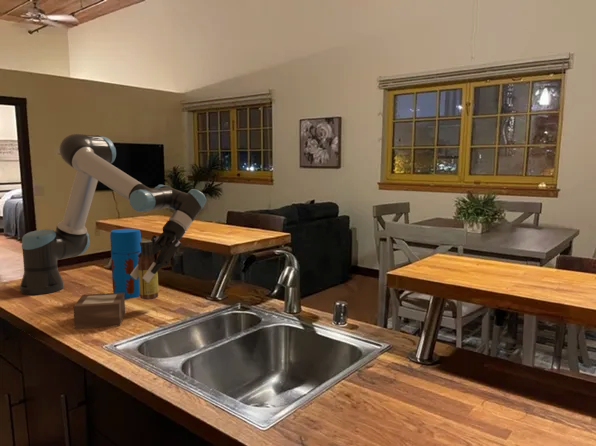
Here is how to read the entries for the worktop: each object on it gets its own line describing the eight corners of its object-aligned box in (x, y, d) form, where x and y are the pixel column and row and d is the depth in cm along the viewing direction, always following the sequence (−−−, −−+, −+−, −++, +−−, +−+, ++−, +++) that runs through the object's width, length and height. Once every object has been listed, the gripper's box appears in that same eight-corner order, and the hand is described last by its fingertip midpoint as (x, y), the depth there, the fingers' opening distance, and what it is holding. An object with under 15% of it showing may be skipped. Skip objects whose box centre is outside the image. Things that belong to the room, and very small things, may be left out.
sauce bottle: (162, 296, 160) (161, 240, 157) (151, 301, 154) (150, 243, 151) (146, 293, 161) (145, 238, 159) (135, 299, 156) (133, 241, 153)
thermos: (147, 291, 180) (145, 228, 177) (135, 299, 169) (132, 233, 166) (121, 290, 181) (118, 228, 178) (107, 298, 170) (104, 232, 167)
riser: (83, 315, 151) (82, 294, 150) (125, 312, 154) (124, 292, 153) (74, 328, 139) (73, 306, 138) (119, 325, 142) (118, 303, 141)
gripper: (200, 235, 161) (163, 289, 151) (166, 229, 173) (129, 280, 162) (188, 221, 156) (149, 277, 146) (154, 217, 168) (115, 268, 157)
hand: (139, 278), depth 154 cm, fingers closed on sauce bottle, 6 cm apart
